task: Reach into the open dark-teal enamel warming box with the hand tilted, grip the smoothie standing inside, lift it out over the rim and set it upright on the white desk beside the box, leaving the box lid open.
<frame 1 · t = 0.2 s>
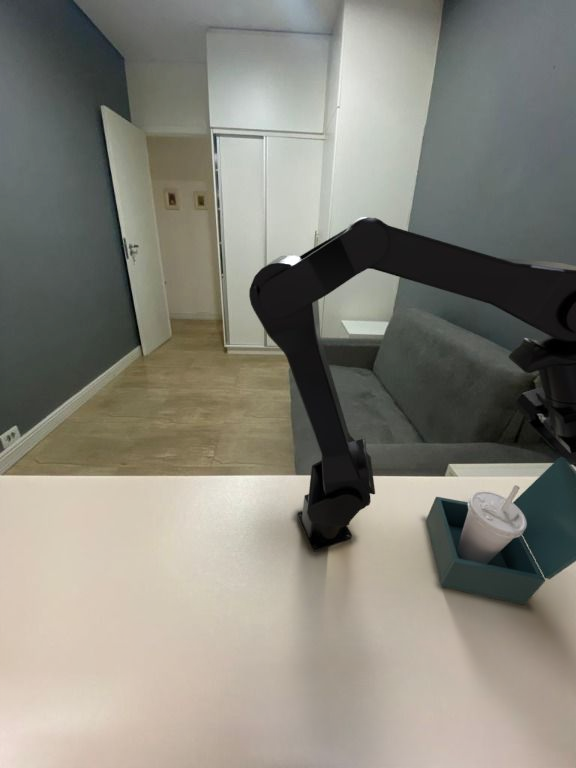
warming box: (469, 557, 44), on the table
smoothie: (470, 556, 44), resting on warming box
box lid: (555, 515, 38), point 11 cm above the table, hinge at 102.6°, touching gripper
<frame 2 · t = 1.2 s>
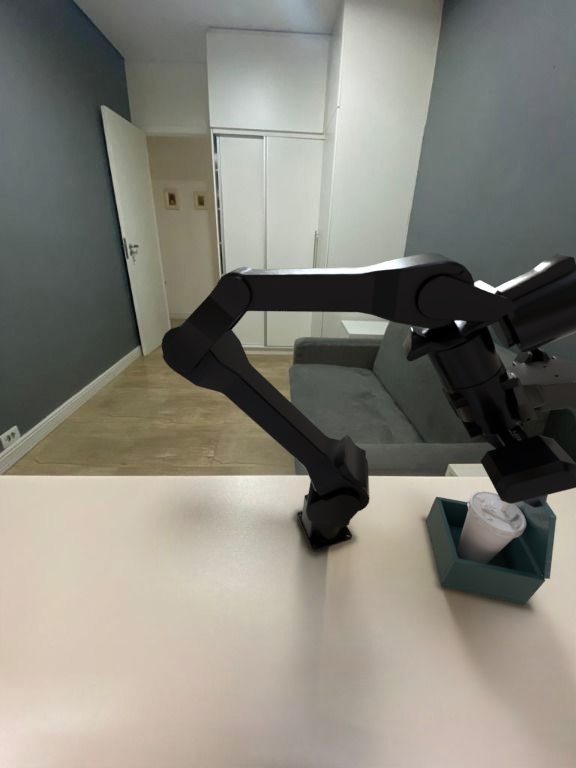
hand: (518, 473, 36), 16 cm above the table, tool tilted 40°, fingers open, 9 cm apart
smoothie: (470, 556, 44), resting on warming box, touching box lid
box lid: (527, 511, 38), point 11 cm above the table, hinge at 69.5°, touching smoothie
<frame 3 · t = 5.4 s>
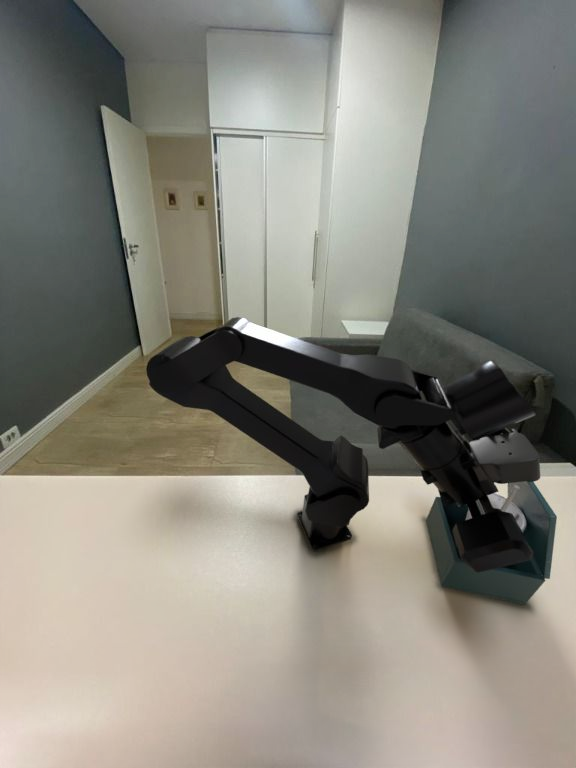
hand: (499, 528, 40), 7 cm above the table, tool tilted 45°, fingers closed on smoothie, 6 cm apart
smoothie: (470, 556, 44), resting on warming box, touching box lid, gripper
everything else where it was.
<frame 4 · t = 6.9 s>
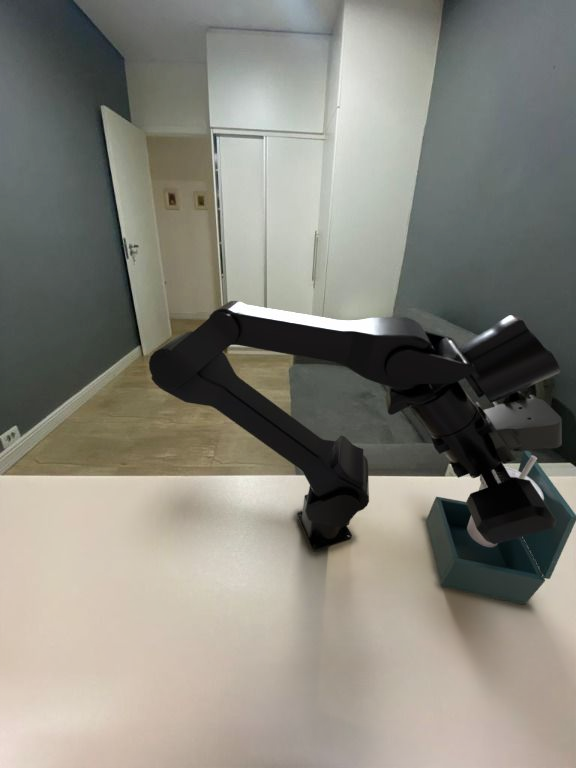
hand: (513, 503, 38), 12 cm above the table, tool tilted 45°, fingers closed on smoothie, 6 cm apart
smoothie: (481, 535, 42), point 5 cm above the table, touching gripper
box lid: (536, 511, 38), point 11 cm above the table, hinge at 79.3°
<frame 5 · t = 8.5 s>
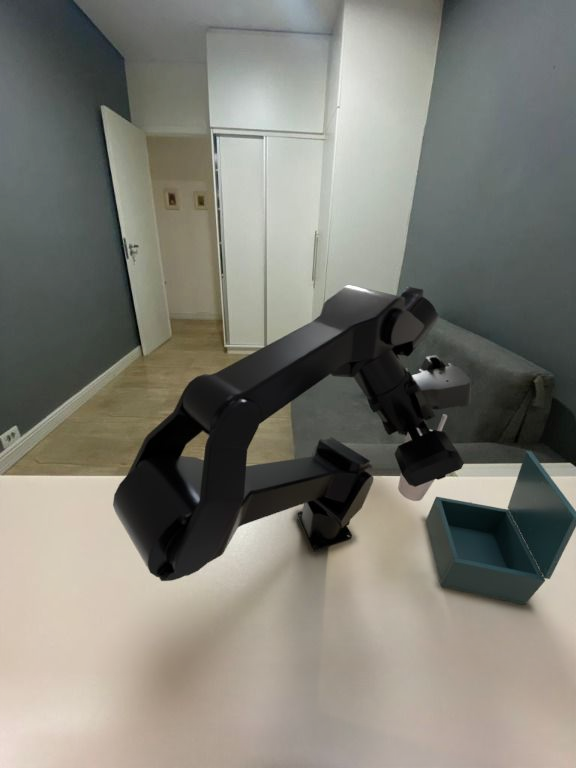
hand: (432, 460, 44), 12 cm above the table, tool tilted 40°, fingers closed on smoothie, 6 cm apart
smoothie: (410, 492, 47), point 6 cm above the table, touching gripper
box lid: (537, 511, 38), point 11 cm above the table, hinge at 80.7°
when the fingers open (7 cm above the table, at t = 11.8 s): smoothie stays where it is, on the table.
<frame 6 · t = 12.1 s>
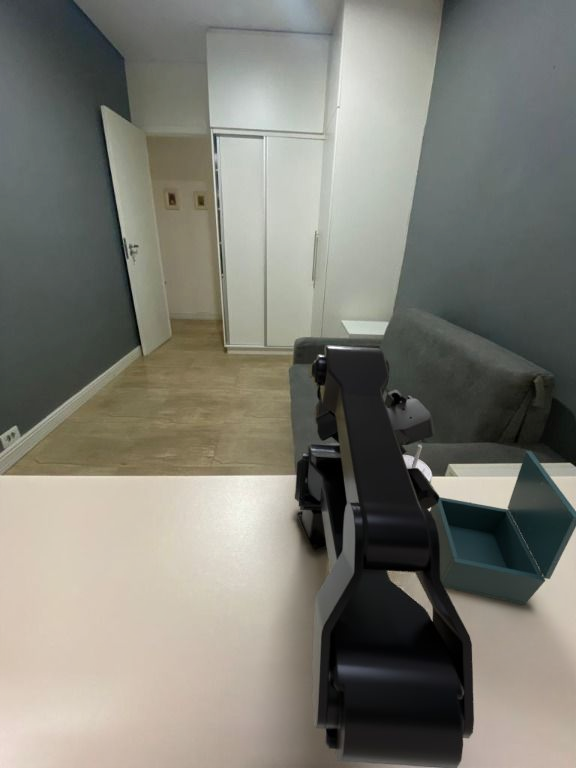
hand: (410, 481, 47), 7 cm above the table, tool tilted 45°, fingers open, 9 cm apart
smoothie: (396, 513, 50), on the table
everything else where it was.
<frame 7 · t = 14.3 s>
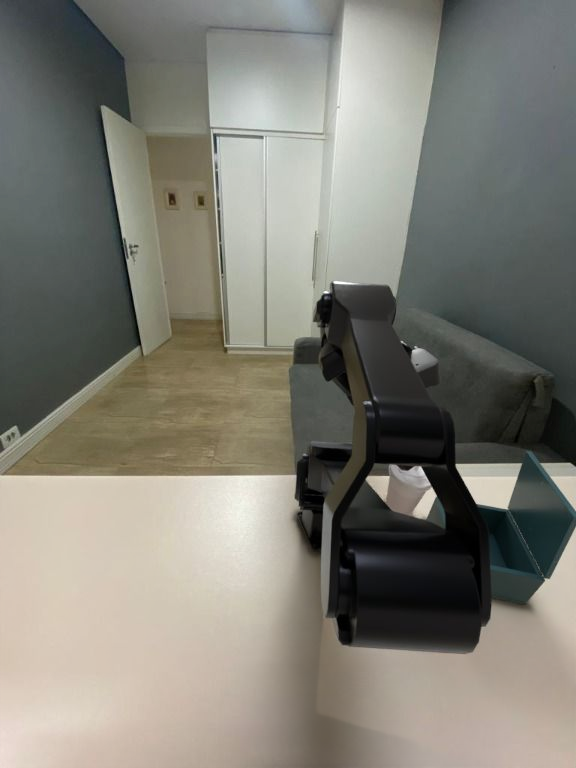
hand: (415, 438, 46), 13 cm above the table, tool tilted 45°, fingers open, 9 cm apart
nothing on the table moved.
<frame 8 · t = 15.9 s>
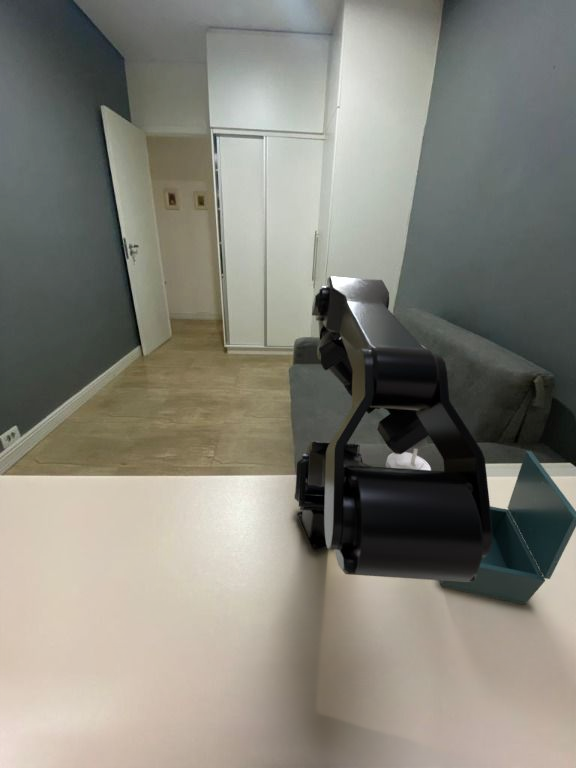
hand: (409, 427, 49), 13 cm above the table, tool tilted 45°, fingers open, 9 cm apart
smoothie: (396, 513, 50), on the table, touching gripper
everything else where it was.
at the end: smoothie 0.6 cm from the target spot, on the table; smoothie tilted 6°; box lid at +81° (first picture: +104°) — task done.
